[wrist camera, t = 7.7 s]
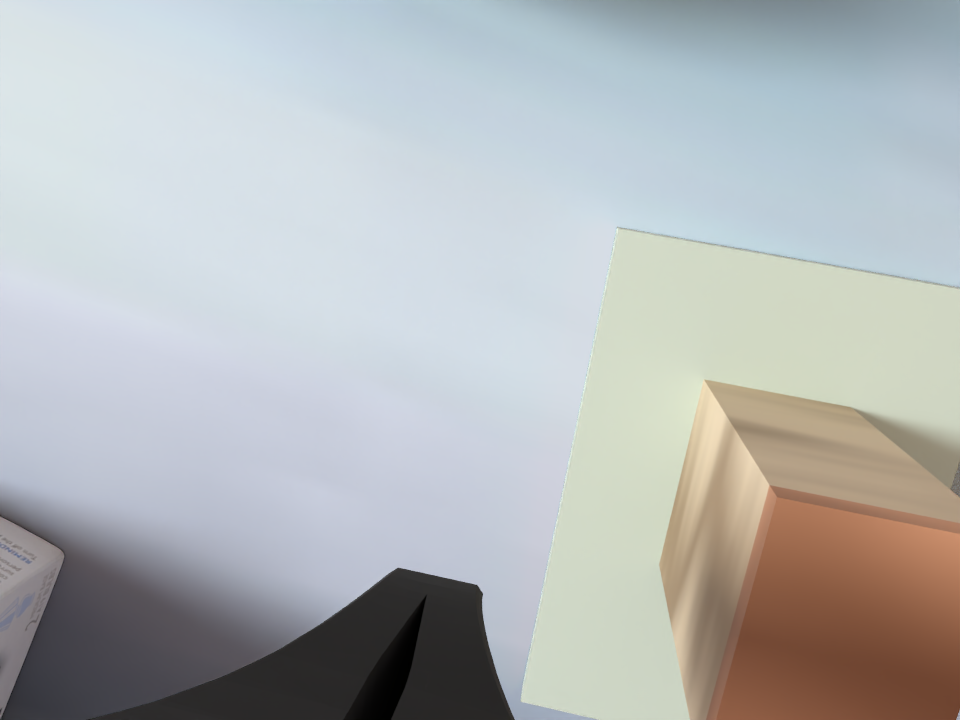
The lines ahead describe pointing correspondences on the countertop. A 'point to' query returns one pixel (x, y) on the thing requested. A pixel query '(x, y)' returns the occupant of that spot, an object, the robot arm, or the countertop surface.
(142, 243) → the countertop surface
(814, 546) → the beech block
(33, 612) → the light bulb box
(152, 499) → the countertop surface
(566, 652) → the sage board
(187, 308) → the countertop surface
